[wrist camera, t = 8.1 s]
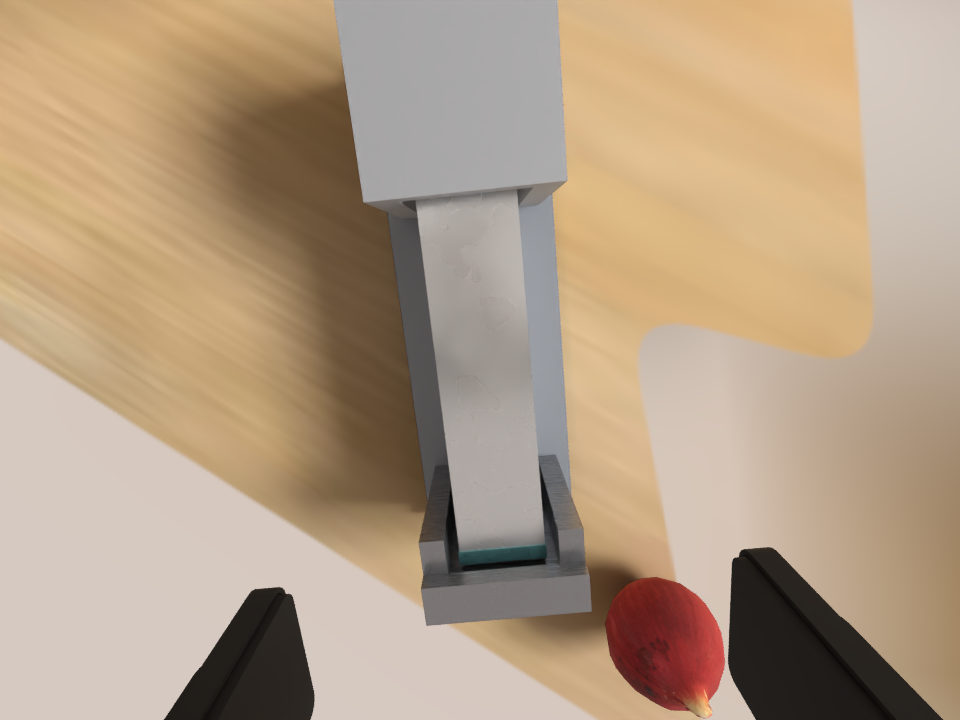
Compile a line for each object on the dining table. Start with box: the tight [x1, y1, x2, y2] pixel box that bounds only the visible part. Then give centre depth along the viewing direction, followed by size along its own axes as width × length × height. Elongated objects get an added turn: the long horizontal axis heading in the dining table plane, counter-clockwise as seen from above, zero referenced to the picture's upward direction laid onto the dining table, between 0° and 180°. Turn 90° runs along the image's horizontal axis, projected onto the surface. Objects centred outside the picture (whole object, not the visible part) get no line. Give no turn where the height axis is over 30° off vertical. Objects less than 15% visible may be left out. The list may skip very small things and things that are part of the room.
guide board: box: [333, 0, 571, 502], centre depth 20 cm, size 24×8×9 cm, turn 6°
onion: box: [605, 577, 725, 718], centre depth 25 cm, size 6×6×8 cm
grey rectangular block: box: [416, 189, 547, 565], centre depth 21 cm, size 16×4×6 cm, turn 6°
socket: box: [419, 455, 592, 626], centre depth 22 cm, size 3×7×8 cm, turn 96°
